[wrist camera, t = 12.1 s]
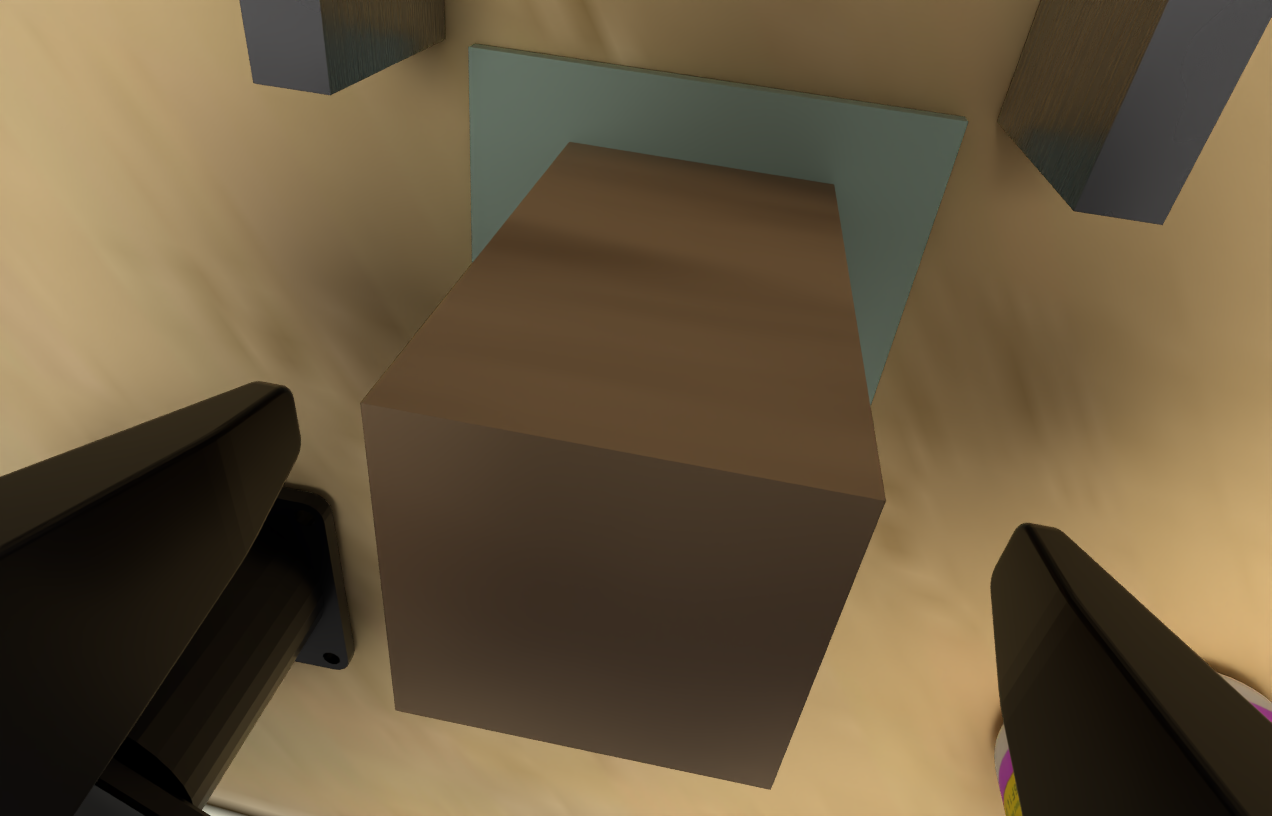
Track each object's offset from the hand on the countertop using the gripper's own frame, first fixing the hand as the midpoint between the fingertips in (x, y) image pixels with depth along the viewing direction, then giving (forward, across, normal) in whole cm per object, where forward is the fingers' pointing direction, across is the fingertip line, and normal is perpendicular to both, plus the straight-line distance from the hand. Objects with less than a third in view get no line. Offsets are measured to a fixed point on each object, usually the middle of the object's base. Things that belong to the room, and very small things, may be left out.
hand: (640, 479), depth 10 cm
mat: (+6, 0, 0) cm, 6 cm away
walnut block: (+6, 0, 0) cm, 6 cm away
